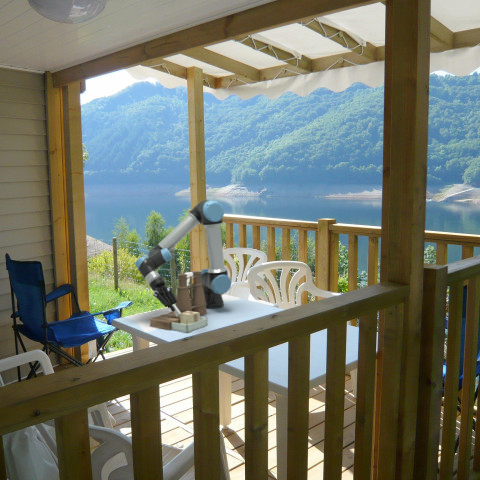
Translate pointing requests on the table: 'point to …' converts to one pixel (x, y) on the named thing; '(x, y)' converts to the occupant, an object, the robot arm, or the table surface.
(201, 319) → the tray
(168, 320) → the board
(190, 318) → the block
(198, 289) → the binoculars
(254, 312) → the table surface
